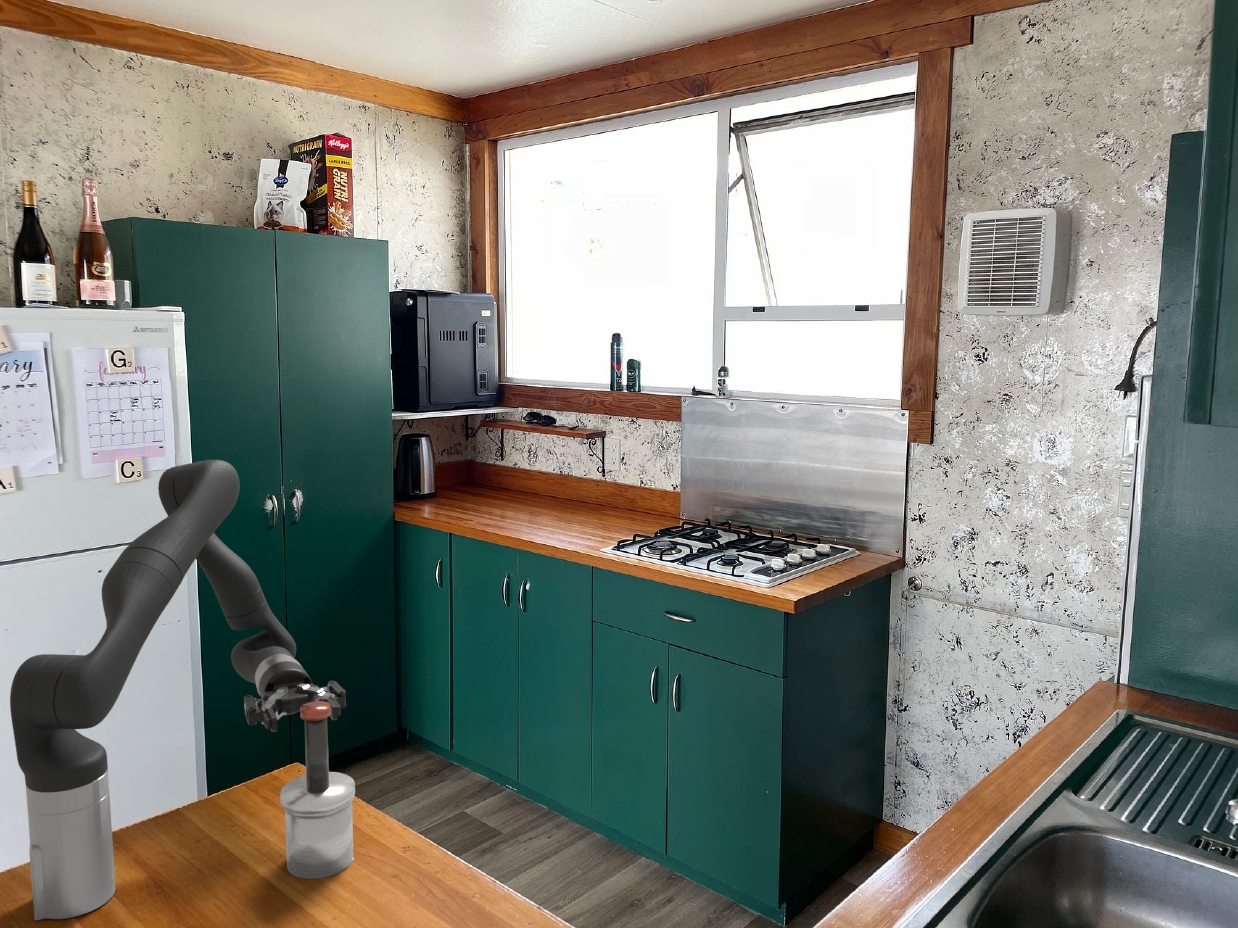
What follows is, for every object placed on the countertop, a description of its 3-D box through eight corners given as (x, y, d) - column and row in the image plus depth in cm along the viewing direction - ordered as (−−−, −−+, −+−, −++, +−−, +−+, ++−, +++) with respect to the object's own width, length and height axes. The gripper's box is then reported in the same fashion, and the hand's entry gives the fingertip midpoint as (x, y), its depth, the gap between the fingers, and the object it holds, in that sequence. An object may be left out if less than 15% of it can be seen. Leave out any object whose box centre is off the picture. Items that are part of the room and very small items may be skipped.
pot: (293, 886, 126) (291, 819, 125) (279, 853, 134) (276, 790, 133) (362, 867, 131) (361, 802, 130) (345, 836, 139) (343, 775, 138)
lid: (289, 821, 124) (285, 726, 123) (274, 789, 133) (270, 701, 131) (363, 802, 129) (361, 712, 128) (344, 773, 138) (342, 688, 136)
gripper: (234, 668, 145) (252, 704, 132) (327, 653, 153) (353, 686, 139) (236, 714, 146) (255, 754, 133) (328, 697, 154) (355, 733, 140)
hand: (305, 719), depth 136 cm, fingers open, 8 cm apart
